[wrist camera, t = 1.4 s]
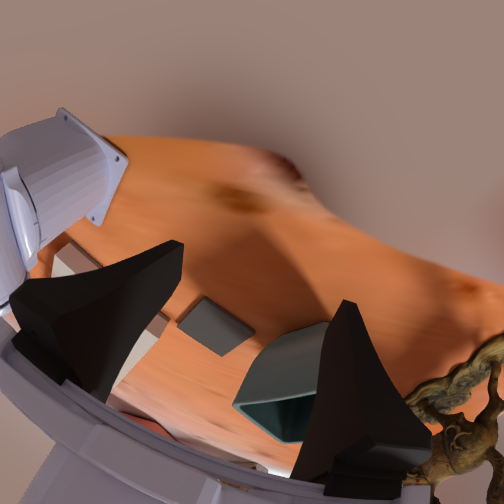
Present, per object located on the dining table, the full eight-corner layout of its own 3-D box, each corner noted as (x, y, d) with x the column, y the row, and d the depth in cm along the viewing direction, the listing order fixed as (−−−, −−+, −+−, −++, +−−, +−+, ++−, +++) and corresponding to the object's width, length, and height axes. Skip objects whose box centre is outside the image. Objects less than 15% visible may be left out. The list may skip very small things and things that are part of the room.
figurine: (361, 427, 35) (351, 547, 18) (483, 319, 21) (531, 501, 5) (420, 433, 35) (420, 537, 18) (531, 340, 21) (571, 472, 4)
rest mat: (177, 324, 30) (176, 327, 29) (204, 296, 27) (203, 298, 26) (222, 354, 31) (221, 356, 30) (255, 331, 28) (254, 334, 27)
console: (55, 324, 39) (45, 336, 36) (71, 240, 27) (54, 254, 25) (120, 376, 41) (112, 389, 39) (170, 319, 30) (158, 338, 27)
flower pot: (252, 326, 27) (228, 405, 20) (336, 297, 24) (336, 387, 16) (294, 375, 30) (282, 445, 23) (368, 354, 27) (372, 432, 19)
